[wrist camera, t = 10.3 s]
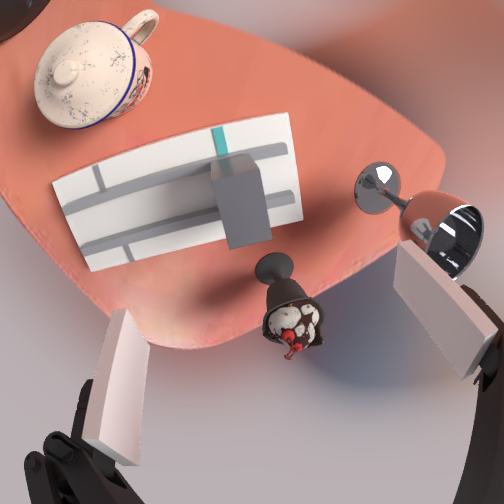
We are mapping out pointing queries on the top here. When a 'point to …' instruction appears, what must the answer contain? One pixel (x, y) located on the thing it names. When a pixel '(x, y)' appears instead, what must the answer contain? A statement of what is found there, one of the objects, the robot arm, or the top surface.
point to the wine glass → (425, 217)
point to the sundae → (288, 306)
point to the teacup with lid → (95, 72)
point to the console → (174, 190)
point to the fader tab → (241, 201)
